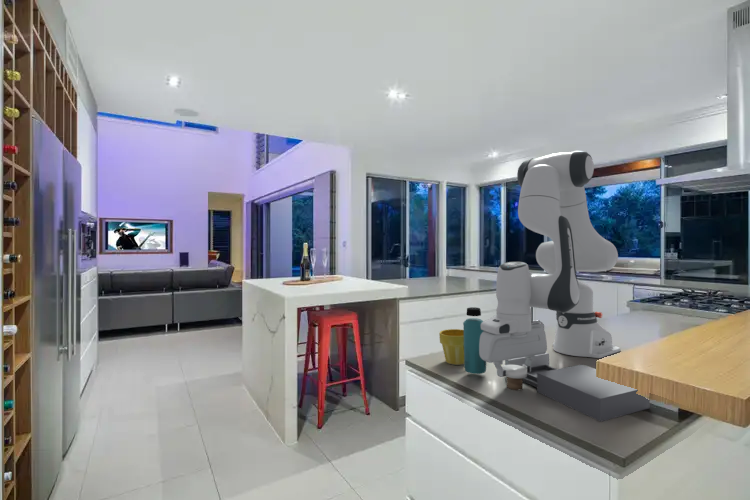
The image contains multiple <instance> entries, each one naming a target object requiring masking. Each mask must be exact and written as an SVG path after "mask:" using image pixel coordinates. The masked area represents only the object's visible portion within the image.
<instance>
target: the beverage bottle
mask: <svg viewBox="0 0 750 500" xmlns="http://www.w3.org/2000/svg"><path fill="white" fill-rule="evenodd" d="M466 316H468V317H470V318H466V319H465V320H464V321H463V322H462V324H463V326H462V327H463V330H464V345H463V346H464V349H463V350H464V364H463V367H464V372H466V373H469V374H472V375H473V374H474V375H479V374H485V373H486V372H487V366H488V365H487V363H488V362H486V361H484V360H482V359H481V357H480V355H479V342H480V336H481V333H482V332H483V330H481V323H482V322H484V320H482V319H481V318H477V317H481V316H482V311H481V308H480V307H475V306H474V307H470V306H469V307H467V308H466Z"/></svg>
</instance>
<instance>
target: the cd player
mask: <svg viewBox="0 0 750 500" xmlns="http://www.w3.org/2000/svg"><path fill="white" fill-rule="evenodd" d="M596 369H597V368H594V367H591V366H588V365H585V364H583V363H582V364H577V365H572V366H567V367H561V368H556V369H555V370H550V371H545V372H539V373H537V387H536V388H537V390H536V391H537V393H539V394H541V395H543V396H545V397H547V398H549V399H551V400H554V401H556V402H558V403H560V404H562V405H564V406H565V407H568V408H571V409H573V410H574V411H577V412H579V413H581V414H584V415H585V416H588V417H590V418H592V419H594V420H596V421H599V422H605V421H608V420H612V419H615V418H618V417H623V416H626V415H629V414H634V413H638V412H641V411H645V410H648V409H650V400H651V399H650V400H648V399H646V398H645V397H643V396H641V395H638V394H636V392H637V391H638V390H637V389H634V388H631V387H627V386H624V385H620V384H617V383H615V382H611V381H608V380H604V379H601V378H598V377H596Z"/></svg>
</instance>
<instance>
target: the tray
mask: <svg viewBox="0 0 750 500" xmlns="http://www.w3.org/2000/svg"><path fill="white" fill-rule="evenodd" d="M525 361H526V358H525V357H522V358H516V359H510V360H504V365H520V366H522V365H523V364H525ZM555 369H557V368H555V367H553V366H550V353H549V352H546V353H545V354H540V355H535V359H534V362H533V364H532V366H531V372H527V377H525V378H522V382H523V383H526V384H529V385H530V386H532V387H535V388H537V373H539V372H545V371H550V370H555Z"/></svg>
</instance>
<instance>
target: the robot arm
mask: <svg viewBox="0 0 750 500" xmlns="http://www.w3.org/2000/svg"><path fill="white" fill-rule="evenodd" d="M594 170H595V165H594V161H593V158H592V156H591V154H590V153H588V152H587V151H583V150H573V151H571V152H570V151H569V152H566V151H565V152H557V153H551V154H547V155H544V156H539V157H536V158H529V159H527V160H524V161H522V163H520V165H519V166H518V168H517V174H516V176H517V177H516V178H517V182H518V186H520V192H519V198H518V206H517V216H518V219H519V222H520V223H521V224H522V226H524V228H527V229H528V230H530V231H532V232H533V233H537V234H540V235H543V236H545V237H546V238H549V239H550V241H545V242H541V243H540V244H539V245H538V247H537V249H536V250H535V259H536V262H537V264H538V265H539V266H540V268H542V269H543V270H544V271H546V272H547V273H538V272H532V271H530V267H529V264H527V263H526V262H523V261H509V262H508V261H507V262H504V263H502V264H500V265H499V267H498V270H497V275H496V282H495V286H496V287H495V293H496V296H495V297H496V298H497V299H496V300H497V306H496V311H495V312H496V314H495V315H493V316H492V317H490V318H488V319H486V320H483V322H482V323H481V330H483V332H482V333H481V336H480V342H479V355H480V357H481V359H482V360H484V361H486V362H487V363H491V364H492V363H493V365H494V367H495V368H496V373H497V374H496V375H497V376H498V377H499V378H503V377H505V378H506V370H504V369H503V368H502V366H503V364H504V362H505V360H510V359H516V358H522V357H525V358H526V361H525V364H523V365H522V366H523V367H525V368H527V372H531V366H532V364H533V362H534V359H535V355H540V354H545V353H547V351H548V343H547V336H546V332H545V325H544V323H543V322H542V321H541V320H540V319H534V320H532V308H536V309H537V308H538V309H543V310H544V309H545V310H550V311H554V312H556V313H555V316H556V317H555V318H556V321H557V323H556V324H555V332H554V333H555V334H554V341H553V342H552V346H553V347H552V349H553V350H554V351H555V352H557V353H560V354H563V355H567V356H572V357H573V356H574V357H584V358H587V357H588V358H593V359H601V358H604V357H607V356H610V355H613V354H616V353H619V352H621V347H619V346H617V345H615V344H613V337H612V333H611V332H610V331H609V330H607V329H606V328H605V327H603V326H602V325H601V324H600V323H599V322H598V319H597V318H599V319H602V318H603V312H601V311H594V291H593V289H592V288H591V286H590V285H588V284H587V283H585V282H583V281H581V280H579V279H578V277H577V272H585V273H589V272H590V273H598V272H605V271H610V270H611V271H612V269H613V268H614V267H615V266H616V264H617V263H618V260H619V254H618V253H619V252H618V250H617V248H616V246H615V245H614V243H612V242H611V241H609V240H608V239H605V238H604V237H603V236H602V235H600V234H599V233H598V232H597V230H596V229H595V228H594V226H593V224H592V222H591V220H590V216H589V210H588V203H587V202H588V201H587V194H586V190H585V185H587V184H588V183H589V182H590V181H591V180H592V178H593V175H594Z"/></svg>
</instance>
